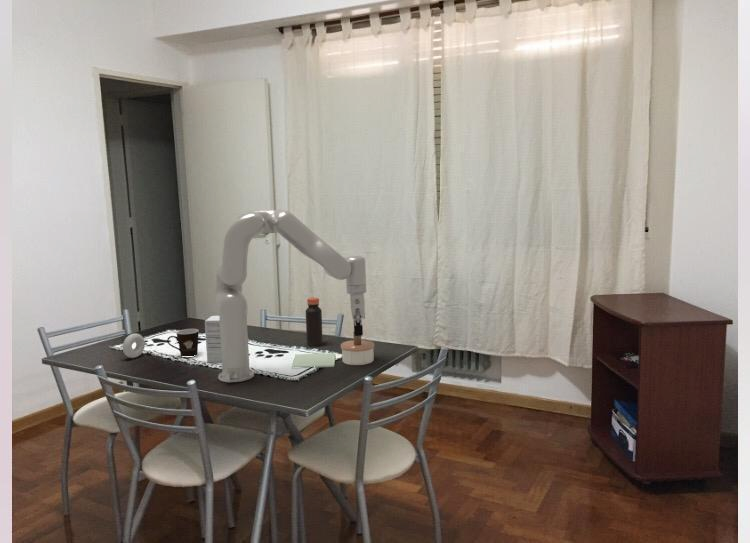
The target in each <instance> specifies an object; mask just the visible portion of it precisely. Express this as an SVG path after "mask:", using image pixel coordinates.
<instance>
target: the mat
mask: <svg viewBox="0 0 750 543" xmlns="http://www.w3.org/2000/svg"><path fill="white" fill-rule="evenodd" d="M335 360H336V353H335V352H325V353H324V352H323V353H297V354H295V355H294V357H293V360H292V364H291V368H292V367H311V366H312V367H313V366H315V368H335V365H336V364H335V363H336V362H335Z"/></svg>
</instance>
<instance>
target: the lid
mask: <svg viewBox="0 0 750 543" xmlns="http://www.w3.org/2000/svg"><path fill="white" fill-rule="evenodd" d="M352 333H353V338H352V339H353V340H347V341H343V342H341V343H340V349H341V350H342V349H343V350H346V351H367V350H370V349H373V350H374V348H375V343H374V342H373V341H370V340H366V339H362V336H355V335H354V331H353V332H352Z"/></svg>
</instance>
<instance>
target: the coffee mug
mask: <svg viewBox="0 0 750 543" xmlns="http://www.w3.org/2000/svg"><path fill="white" fill-rule="evenodd" d="M199 333H200V331H199V329H198V328H185V329H181V330H177V331H176V335H171V336H168V338H167V339H166V342H167V344H168V345H169V346H170V347H172V348H173V349H176V350H178V351H179V353H180V357H181V356H194V355H197V356H198V352H199ZM171 338H174V339H176V342H178V343H177V344H178V347H176V346H174V345H173V344H171V343H170V342H169V340H170V339H171ZM194 357H195V356H194Z"/></svg>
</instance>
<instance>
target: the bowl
mask: <svg viewBox="0 0 750 543" xmlns="http://www.w3.org/2000/svg"><path fill="white" fill-rule="evenodd" d="M374 354H375V353H374V348H373V349H370V350H367V351H346V350H343V349H341V355H342V356H341V357H342V363H343V364H345V365H348V366H349V365H350V366H364V365H365V366H366V365H368V364H372V363H373V362H374V357H375V356H374Z"/></svg>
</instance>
